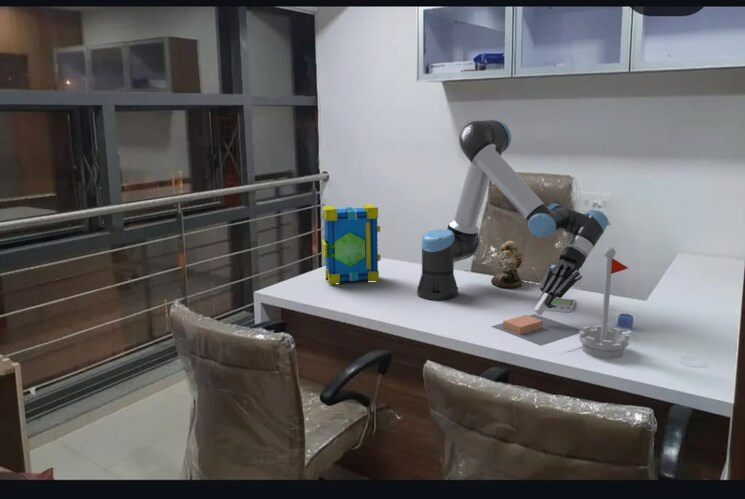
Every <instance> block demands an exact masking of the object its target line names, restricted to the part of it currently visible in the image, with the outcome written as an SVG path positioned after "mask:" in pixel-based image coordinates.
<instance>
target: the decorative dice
mask: <svg viewBox="0 0 745 499" xmlns="http://www.w3.org/2000/svg"><path fill="white" fill-rule="evenodd" d="M633 324H634V316H633V315H632V314H630V313H620V314H618V315H617V322H616V326H617V327H619V328H623V329H631V328H633ZM631 330H632V329H631Z"/></svg>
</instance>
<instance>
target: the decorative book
mask: <svg viewBox="0 0 745 499" xmlns="http://www.w3.org/2000/svg"><path fill="white" fill-rule="evenodd" d="M322 207H323V220H324V221H323V222H324V239H323V238H322V239H321V253H322V255H323V257H324V259H325V269H324V271H325V272H324V273H325V275H324V276H325V279H326V278H328V279H327V281H328V285H329V284H336V283H340V282H346V281H349V282H358V281H360V280H367V282H368V281H379V282H380V274H379V273H380V272H379V264H378V263H379V261H381V260H382V257H381V254H379V253H378V252H379V251H378V249H379V248H378V246H379V245H378V233H380V232H381V225H379V224H378V219H379V207H375V204H374V203H371V204H362V207H357V208H356V207H354V206H345V207H344V208H335V205H326V206H325V205H324V206H322ZM340 284H341V283H340Z"/></svg>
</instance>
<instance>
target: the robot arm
mask: <svg viewBox="0 0 745 499" xmlns="http://www.w3.org/2000/svg"><path fill="white" fill-rule="evenodd" d="M511 142H512V133H511V130H510V129H509V127H508V125H507V124H506V123H505V122H503V121H501V120H497V119H486V120H485V119H483V120H474V121H469V122H468V123H467V124H465V125H464V126H463V127H462V129H461V130H460V132H459V138H458V143H459V146H460V149H461V150H462V153H463V154H464V156H465V157H466V158H467V159H468V161H469V165H468V167H467V168H468V169H467V172H466V174H465V175H466V176H465V179H464V182H463V187H462V189H461V194H460V196H459V200H458V203H457V204H458V205H457V207H456V211H455V213H454V214H455V215H454V219H452V220H449V222H448V226H447V229H444V228H443V229H442V228H441V229H433V230H429V231H427V232H425V233H424V234H423V235H422V240H421V245H420V246H421V275H420V279H419V283H418V285H417V288H416V294H417V296H418V297H420V298H423V299H426V300H433V301H445V300H451V299H454V298H457V297H458V296H459V287H458V285H457V281H456V278H455V274H454V272H455V271H454V268H455V267H454V266H455V263H457V262H460V261H464V260H467V259H469V258H471V257H473V256H474V255H476V253H477V252H478V250H479V248H480V245H481V238H480V237H479V236H480V235H479V231H480V229H479V228H478V226H477V224H478V220H479V217H480V213H481V210H482V208H483V203H484V200H485V197H486V193H487V190H488V186H489V182H490V180H491V182H492V183H493V184H494V185H495V186H496V188H498V189H499V191H500V192H501V193H502V194H503V195H504V196H505V197H506V198H507V199H508V200H509V202H510V203H511V204H512V206H513V207H514V208H516V210H518V212H519V213H520V214H521V215H522V216H523V217H524V219H525V220H526V221H527V222H528V224H527V228H528V230H529V233H530V234H531V235H532V236H534V237H537V238H545V237H549V236H552V235H554V234H556V233H560V232H565V233H567V234H570V235H572V236H571V238H570V239H569V241H568V243H567V244H565V247H564V248H563V250H562V251H561V253H560V254H559V259H558V260H557V261H556V262H555V263H554V264H549V263H548V264H546V270H545V273H544V276H543V278H542V281H541V283H540V286H539V291H541V295H540V296H539V298H538V300H537V304H536V305H535V306H534V308H533V310H534V312H536V313H537V314H536V315H539V316H542V315H543V314H544V312H545V311H546V310H545V309H546V307H547V306H549V305H550V304H551V302H552V301H553V299H554V298H561V299H562V297H563V296H565V294H566V293H567V292H569V290H570V289H571V288H572V287H573V286H574V285H575V283H577V282H578V281H580V280H581V279H582V278H583V276H582V275H581V273H580V272H579V270H580V269H581V268H582V267H583V265H585V264H584V263H585V262H586V260H587V259H588V257H589V256H590V254H591V252H592V251H593V249H594V248H595V246H596V244H597V243H598V242H599V241H600V239H601V237H602V235H603V234H604V233H605V230H606V229H607V227H608V224H609V219H608V217H607V215H606V214H604V213H603V212H601V211H600V210H596V209H590V210H589V211H587V213H582V212H579V211H576V210H575V209H571V208H569V207H566V206H564V205H562V204H559V203H553V202H552V203H550V204H549V205H548V206H547V205H546V204H545V203H544V202H543V201H542V200H541V198H540V197H539V196H538V195H537V194H536V193H535V192H534V191H533V190H532V188H530V186H528V184H527V183H526V182H525V181H524V180H523V179H522V177H520V175H519V174H518V173H517V172H516V171H515V170H514V169H513V168H512V167H511V165H510V164H509V163H508V162H507V160H505V159H504V158H503V156H502V153H503V152H505V151H506V150H507V149H509V146H510V145H511Z"/></svg>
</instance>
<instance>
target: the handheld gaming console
mask: <svg viewBox="0 0 745 499" xmlns="http://www.w3.org/2000/svg"><path fill="white" fill-rule="evenodd" d="M575 306H576V299H571V298H570V299H569V298H562V297H561V298H558V297H557V298H554V299H553V301H552V302H551V304H550V305H549V306H547V307H546V309H545V310H544V311H547V312H557V313H567V314H568V313H571V312H572V311H573V310H574V308H575Z"/></svg>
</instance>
